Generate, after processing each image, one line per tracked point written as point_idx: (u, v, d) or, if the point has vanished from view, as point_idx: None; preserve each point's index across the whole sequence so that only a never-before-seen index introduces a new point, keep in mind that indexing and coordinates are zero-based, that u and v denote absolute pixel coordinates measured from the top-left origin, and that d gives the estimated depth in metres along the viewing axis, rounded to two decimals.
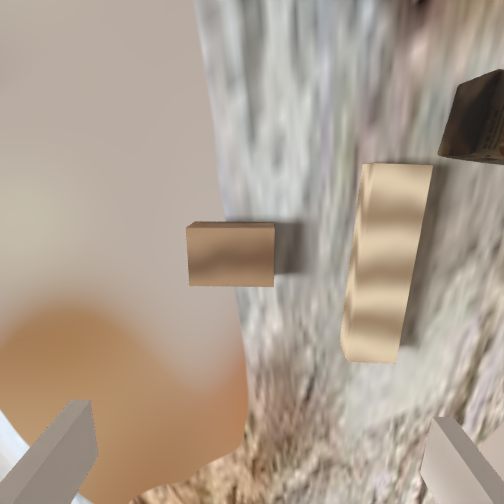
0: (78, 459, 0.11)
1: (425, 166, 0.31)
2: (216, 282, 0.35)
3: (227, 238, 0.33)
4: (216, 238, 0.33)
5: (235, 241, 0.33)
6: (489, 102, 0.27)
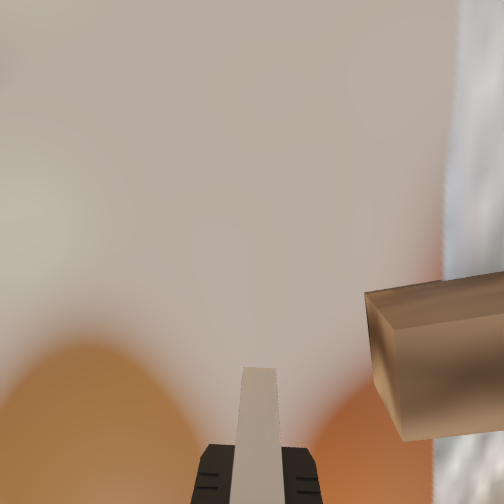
0: None
1: None
2: (464, 427, 0.16)
3: (496, 336, 0.14)
4: (468, 340, 0.14)
5: None
6: None
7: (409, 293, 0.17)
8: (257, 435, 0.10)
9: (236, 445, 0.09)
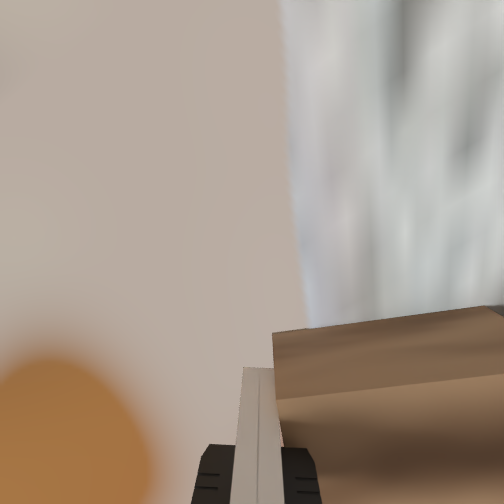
0: None
1: None
2: None
3: (414, 412, 0.10)
4: (377, 416, 0.10)
5: (441, 417, 0.10)
6: None
7: (322, 338, 0.13)
8: (257, 435, 0.10)
9: (236, 445, 0.09)
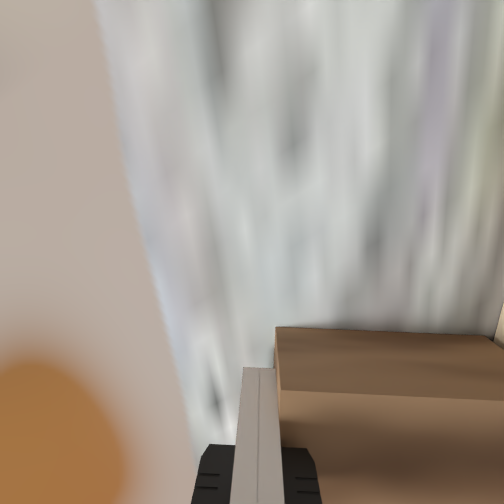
0: None
1: None
2: None
3: (412, 424, 0.10)
4: (375, 422, 0.10)
5: (436, 434, 0.10)
6: None
7: (326, 339, 0.13)
8: (257, 435, 0.10)
9: (236, 445, 0.09)
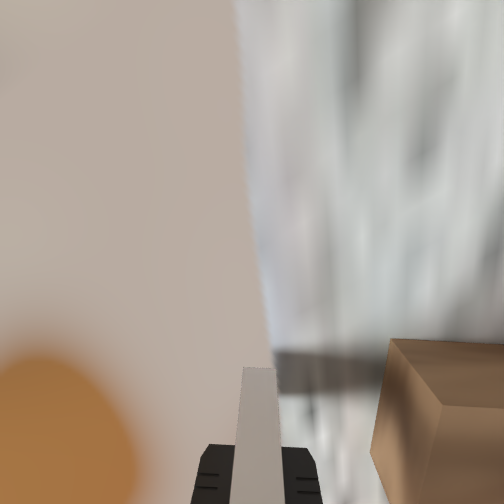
0: None
1: None
2: None
3: None
4: None
5: None
6: None
7: (449, 351, 0.13)
8: (257, 435, 0.10)
9: (236, 445, 0.09)
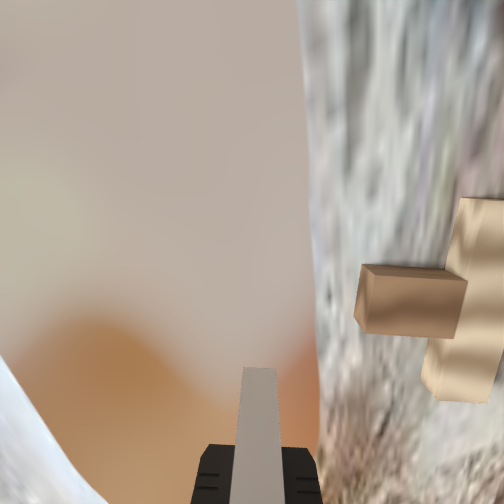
0: None
1: None
2: (393, 331, 0.33)
3: (416, 288, 0.32)
4: (404, 287, 0.32)
5: (423, 291, 0.32)
6: None
7: (383, 267, 0.35)
8: (257, 435, 0.10)
9: (236, 445, 0.09)
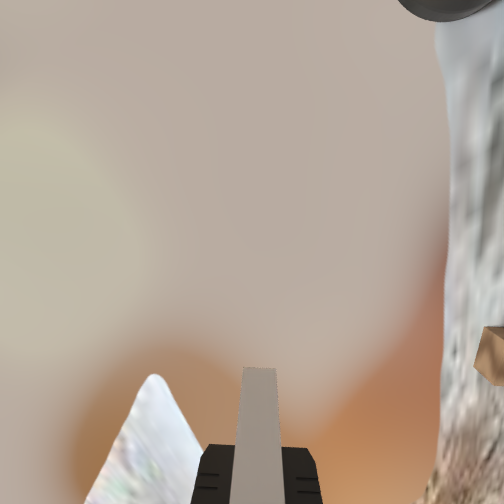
0: None
1: None
2: None
3: None
4: None
5: None
6: None
7: None
8: (257, 435, 0.10)
9: (236, 445, 0.09)
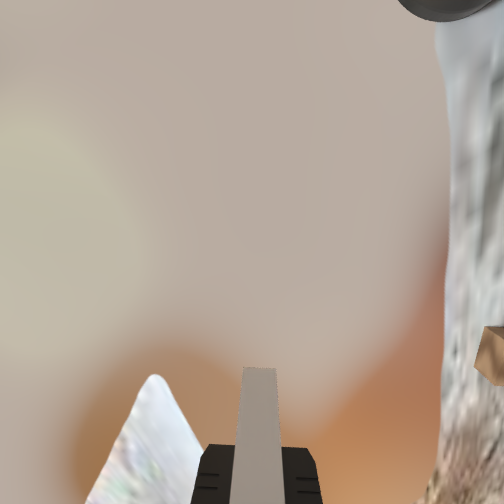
0: None
1: None
2: None
3: None
4: None
5: None
6: None
7: None
8: (257, 435, 0.10)
9: (236, 445, 0.09)
